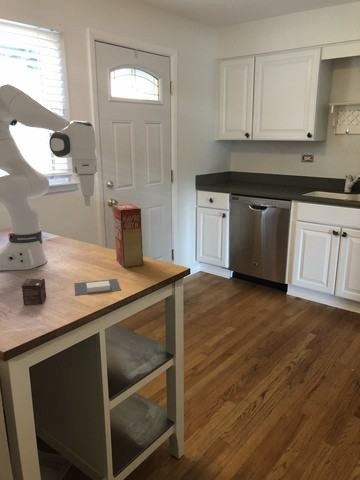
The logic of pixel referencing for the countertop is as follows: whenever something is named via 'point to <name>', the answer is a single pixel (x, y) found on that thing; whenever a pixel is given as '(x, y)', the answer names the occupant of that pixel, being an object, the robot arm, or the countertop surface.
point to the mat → (82, 290)
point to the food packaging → (128, 235)
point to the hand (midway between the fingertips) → (87, 205)
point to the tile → (98, 286)
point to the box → (34, 291)
